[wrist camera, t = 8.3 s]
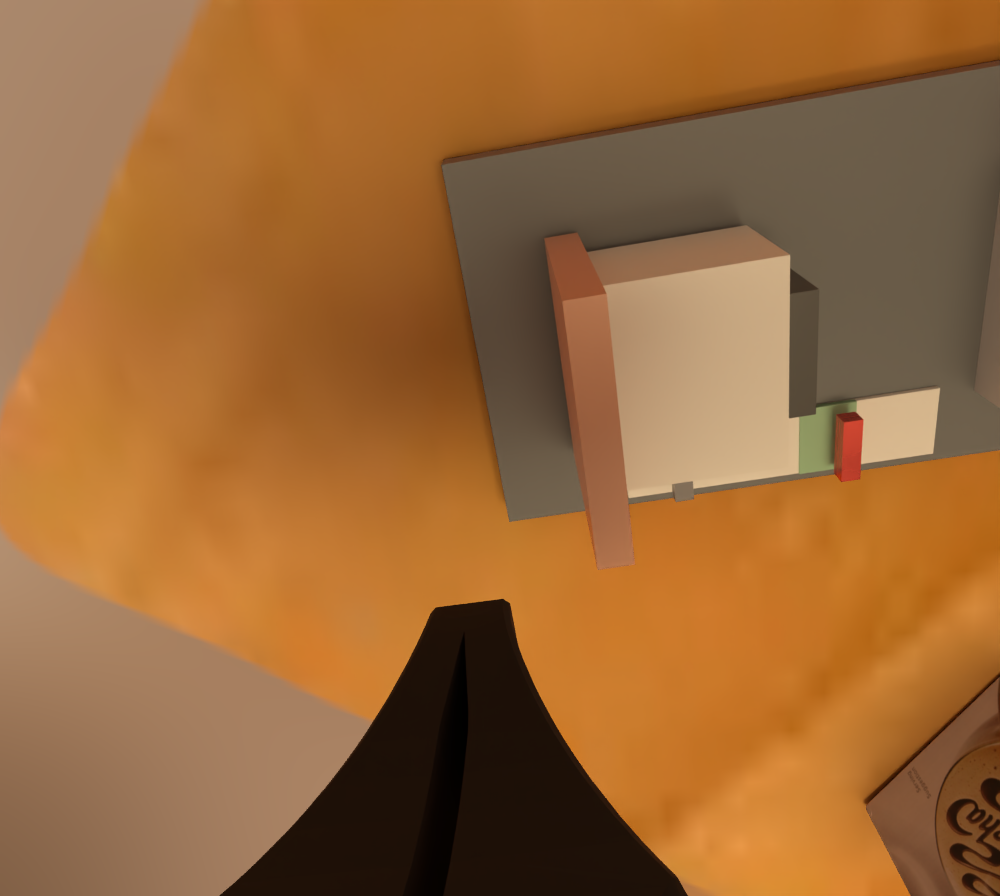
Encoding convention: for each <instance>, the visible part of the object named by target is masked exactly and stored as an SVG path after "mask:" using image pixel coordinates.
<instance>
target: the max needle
mask: <svg viewBox="0 0 1000 896" xmlns="http://www.w3.org/2000/svg"><path fill="white" fill-rule="evenodd" d="M863 421H864V420H863V419H862V418H861V417H860V416H859V415H858V414H857V413H856V412H849V413H842V414H836V433H835V458H834V474H835V475H836V476H837V477H838V479H839V480H840V481H841V482H844V481H851V480H858V479H860V472H861V455H862V438H863Z"/></svg>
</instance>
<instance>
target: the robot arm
mask: <svg viewBox="0 0 1000 896" xmlns="http://www.w3.org/2000/svg"><path fill="white" fill-rule="evenodd" d="M220 896H688V895H687V894H686V892H685V890H684V889H683V887H682V885H681V883H680V881H679V879H678V878H677V877H676V875H675V874H674V873H673V872H672V871H671V870H670V869H669V868H668V867H667V866H666V865H665V864H664V863H663V862H662V861H661V860H660V859H659V858H658V857H657V856H656V855H655V854H654V853H653V852H652V851H651V850H650V849H649V848H648V847H647V846H646V845H645V844H644V843H643V842H642V841H641V839H640V838H639V837H638V836H637V835H636V834H635V833H634V831H633V830H632V829H631V828H630V827H629V826H628V825H627V824H626V822H625V821H624V820H623V819H622V818H621V817H620V815H619V814H618V813H617V812H616V810H615V809H614V808H613V807H612V805H611V804H610V803H609V802H608V800H607V799H606V798H605V796H604V795H603V794H602V793H601V791H600V790H599V789H598V788H597V786H596V785H595V784H594V782H593V781H592V780H591V779H590V777H589V776H588V774H587V773H586V771H585V770H584V769H583V767H582V766H581V764H580V763H579V761H578V760H577V758H576V757H575V756H574V754H573V752H572V751H571V749H570V748H569V746H568V745H567V743H566V742H565V740H564V738H563V737H562V735H561V734H560V732H559V730H558V729H557V727H556V725H555V723H554V722H553V720H552V718H551V716H550V714H549V713H548V711H547V709H546V707H545V705H544V703H543V701H542V700H541V698H540V696H539V694H538V692H537V689H536V687H535V685H534V683H533V681H532V679H531V676H530V674H529V672H528V670H527V667H526V665H525V663H524V660H523V658H522V655H521V653H520V650H519V647H518V643H517V638H516V633H515V627H514V622H513V617H512V611H511V606H510V603H508V602H507V601H505V600H504V599H499V600H491V601H483V602H476V603H468V604H460V605H452V606H444V607H437V608H435V609H434V610H433V611H432V613H431V614H430V616H429V619H428V621H427V623H426V626H425V628H424V630H423V632H422V634H421V637H420V639H419V641H418V643H417V645H416V647H415V649H414V651H413V653H412V655H411V657H410V659H409V661H408V663H407V665H406V666H405V668H404V670H403V672H402V674H401V675H400V677H399V679H398V681H397V683H396V685H395V686H394V688H393V690H392V692H391V694H390V695H389V697H388V699H387V700H386V702H385V704H384V705H383V707H382V708H381V710H380V711H379V713H378V715H377V716H376V718H375V719H374V721H373V723H372V724H371V726H370V727H369V729H368V731H367V732H366V734H365V735H364V737H363V738H362V739H361V741H360V742H359V744H358V745H357V747H356V748H355V750H354V751H353V752H352V754H351V755H350V756H349V758H348V759H347V761H346V762H345V763H344V765H343V766H342V767H341V768H340V770H339V771H338V773H337V774H336V775H335V776H334V778H333V779H332V780H331V782H330V783H329V784H328V785H327V786H326V788H325V789H324V790H323V791H322V792H321V794H320V795H319V796H318V797H317V798H316V800H315V801H314V802H313V803H312V804H311V806H310V807H309V808H308V809H307V810H306V811H305V813H304V814H303V815H302V816H301V817H300V818H299V819H298V820H297V821H296V823H295V824H294V825H293V826H292V827H291V828H290V829H289V830H288V831H287V832H286V833H285V834H284V835H283V836H282V837H281V838H280V839H279V840H278V841H277V842H276V843H275V844H274V845H273V847H271V848H270V849H269V851H267V852H266V853H265V854H264V855H263V856H262V857H261V859H259V860H258V861H257V862H256V864H254V865H253V866H252V867H251V868H250V869H249V870H248V871H247V872H246V873H245V874H244V875H243V876H241V877H240V878H239V879H238V880H237V881H236V882H235V883H234V884H233V885H232V886H230V887H229V888H228V889H227V890H226V891H224V892H223V893H222V894H221V895H220Z"/></svg>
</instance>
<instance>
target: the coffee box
mask: <svg viewBox="0 0 1000 896" xmlns="http://www.w3.org/2000/svg"><path fill="white" fill-rule="evenodd" d="M866 810H867V812H868V814H869V816H870V818H871V820H872V822H873V824H874V825H875V827H876V829H877V831H878V833H879V835H880V837H881V839H882V841H883V843H884V845H885V847H886V848H887V850H888V852H889V854H890V856H891V858H892V860H893V862H894V864H895V866H896V868H897V870H898V872H899V874H900V876H901V878H902V879H903V881H904V883H905V885H906V887H907V889H908V891H909V893H910V895H911V896H1000V677H999V678H998V679H997V680H996V681H995V682H994V683H993V684H992V685H991V686H990V687H989V688H987V689H986V690H985V691H984V692H983V693H982V694H981V695H980V696H979V697H978V698H977V699H976V700H975V701H974V702H973V703H972V704H971V705H970V706H969V707H968V708H967V709H966V710H965V711H964V712H962V713H961V714H960V715H959V716H958V717H957V718H956V719H955V720H954V721H953V722H952V723H951V724H950V725H949V726H948V727H947V728H946V729H945V730H944V731H943V732H942V733H941V734H939V735H938V736H937V737H936V738H935V739H934V740H933V741H932V742H931V743H930V744H929V745H928V746H927V747H926V748H925V749H924V750H923V751H922V752H921V753H920V754H919V755H918V756H917V757H916V758H915V759H914V760H913V761H912V762H911V763H909V764H908V765H907V766H906V767H905V768H904V769H903V770H902V771H901V772H900V773H899V774H898V775H897V776H896V777H895V778H894V779H893V780H892V781H891V782H890V783H889V784H888V785H887V786H886V787H885V788H884V789H883V790H882V791H880V792H879V793H878V794H877V795H876V796H875V797H874V798H873V799H872V800H871V801H870V802H869V803H868V804H867V805H866Z"/></svg>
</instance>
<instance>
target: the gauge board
mask: <svg viewBox="0 0 1000 896" xmlns="http://www.w3.org/2000/svg"><path fill="white" fill-rule="evenodd" d="M441 166H442V171H443V176H444V181H445V187H446V192H447V197H448V202H449V208H450V213H451V218H452V223H453V229H454V234H455V239H456V244H457V250H458V255H459V260H460V265H461V271H462V276H463V281H464V286H465V292H466V297H467V302H468V307H469V312H470V318H471V323H472V328H473V333H474V339H475V344H476V349H477V354H478V360H479V365H480V370H481V375H482V381H483V386H484V391H485V396H486V402H487V407H488V412H489V417H490V423H491V428H492V433H493V438H494V444H495V449H496V454H497V459H498V465H499V470H500V475H501V480H502V486H503V491H504V496H505V501H506V506H507V512H508V517H509V522H511V521H518V520H525V519H532V518H539V517H545V516H552V515H559V514H566V513H573V512H580V511H585V506H584V501H583V496H582V492H581V487H580V482H579V477H578V472H577V467H576V463H575V458H574V451H573V444H572V437H571V429H570V422H569V415H568V408H567V400H566V393H565V386H564V379H563V371H562V364H561V357H560V350H559V342H558V335H557V328H556V321H555V313H554V306H553V299H552V292H551V284H550V277H549V270H548V263H547V255H546V248H545V241H544V238H548V237H554V236H560V235H566V234H572V233H578V235H579V237H580V239H581V241H582V243H583V245H584V248H585V250H586V252H590V251H596V250H602V249H608V248H614V247H620V246H626V245H632V244H638V243H644V242H650V241H656V240H661V239H667V238H673V237H679V236H685V235H691V234H697V233H703V232H709V231H715V230H721V229H727V228H733V227H739V226H744V225H747V226H748V227H750V228H751V229H753V230H754V231H756V232H757V233H759V234H760V235H762V236H763V237H765V238H766V239H768V240H769V241H770V242H772V243H773V244H775V245H776V246H778V247H779V248H781V249H782V250H784V251H785V252H787V253H788V254H790V268H791V269H792V270H793V271H795V272H796V273H798V274H799V275H800V276H802V277H803V278H805V279H806V280H807V281H809V282H810V283H811V284H813V285H814V286H816V287H817V288H818V289H819V323H818V360H817V397H816V414H815V415H809V416H802V417H795V418H789V451H788V467H785V468H778V469H772V470H765V471H758V472H751V473H744V474H738V475H731V476H724V477H717V478H711V479H704V480H697V481H693V490H694V495H696V494H703V493H709V492H716V491H723V490H730V489H737V488H744V487H750V486H757V485H764V484H771V483H778V482H785V481H791V480H798V479H805V478H812V477H819V476H826V475H832V474H834V458H835V433H836V414H842V413H849V412H856V413H857V414H858V415H859V416H860V417H861V418H862V419H863V420H864V421H863V438H862V455H861V470H867V469H873V468H880V467H887V466H894V465H901V464H908V463H915V462H921V461H928V460H935V459H942V458H949V457H956V456H962V455H969V454H976V453H983V452H990V451H997V450H1000V60H997V61H992V62H986V63H981V64H975V65H969V66H964V67H958V68H953V69H947V70H941V71H936V72H930V73H925V74H919V75H913V76H908V77H902V78H897V79H891V80H885V81H880V82H874V83H869V84H863V85H858V86H852V87H846V88H841V89H835V90H830V91H824V92H818V93H813V94H807V95H802V96H796V97H790V98H785V99H779V100H774V101H768V102H762V103H757V104H751V105H746V106H740V107H735V108H729V109H723V110H718V111H712V112H707V113H701V114H695V115H690V116H684V117H679V118H673V119H667V120H662V121H656V122H651V123H645V124H639V125H634V126H628V127H623V128H617V129H612V130H606V131H600V132H595V133H589V134H584V135H578V136H572V137H567V138H561V139H556V140H550V141H544V142H539V143H533V144H528V145H522V146H516V147H511V148H505V149H500V150H494V151H489V152H483V153H477V154H472V155H466V156H461V157H455V158H449V159H444V160H443V162H442V165H441ZM627 494H628V504H634V503H641V502H648V501H655V500H662V499H668V498H674V497H673V493H672V484H670V485H663V486H656V487H650V488H643V489H636V490H629V491H627Z"/></svg>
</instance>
